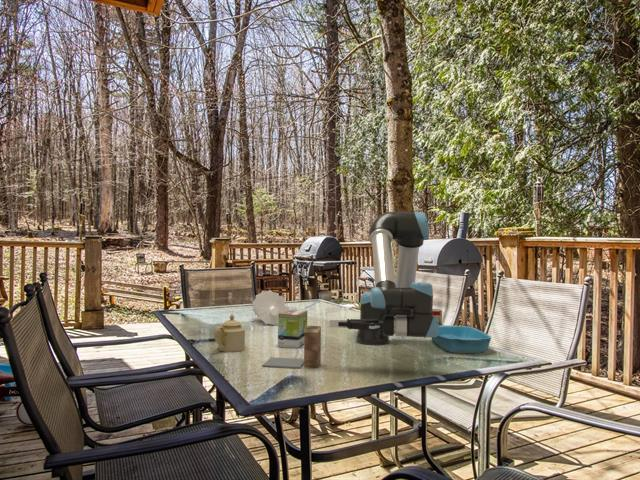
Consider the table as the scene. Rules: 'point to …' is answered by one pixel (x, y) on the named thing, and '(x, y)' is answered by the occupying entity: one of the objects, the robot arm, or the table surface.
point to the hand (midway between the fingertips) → (329, 323)
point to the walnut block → (312, 346)
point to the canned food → (438, 315)
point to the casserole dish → (462, 339)
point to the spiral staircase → (269, 307)
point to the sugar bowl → (230, 336)
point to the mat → (284, 363)
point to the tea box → (291, 328)
